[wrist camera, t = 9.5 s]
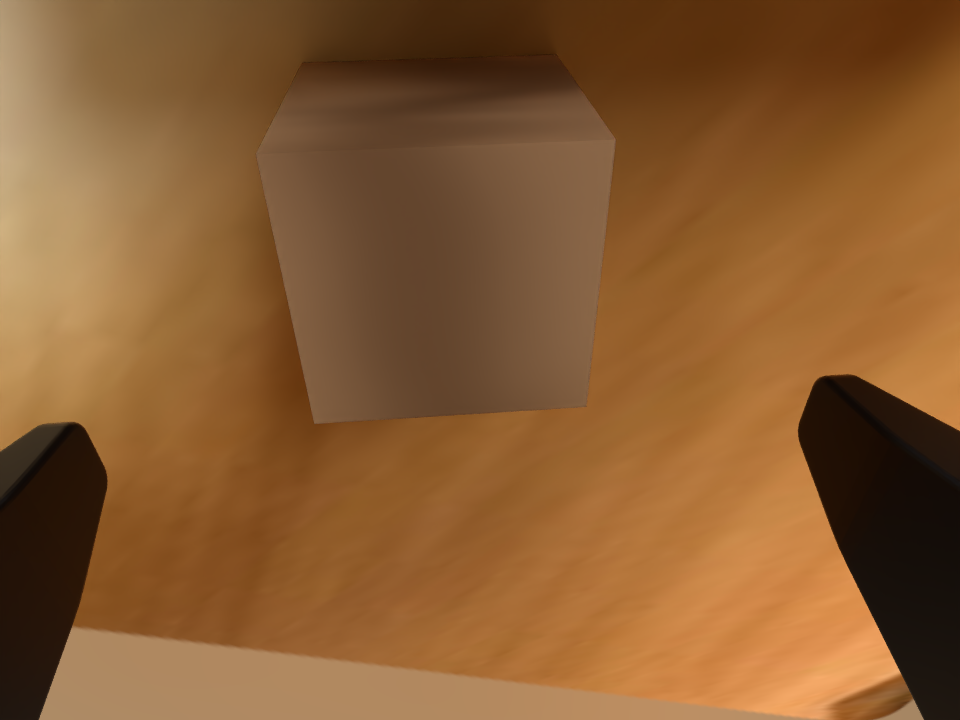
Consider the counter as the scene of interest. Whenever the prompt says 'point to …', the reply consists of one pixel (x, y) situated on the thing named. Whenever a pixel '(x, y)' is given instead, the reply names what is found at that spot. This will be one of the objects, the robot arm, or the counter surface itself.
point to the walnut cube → (439, 233)
